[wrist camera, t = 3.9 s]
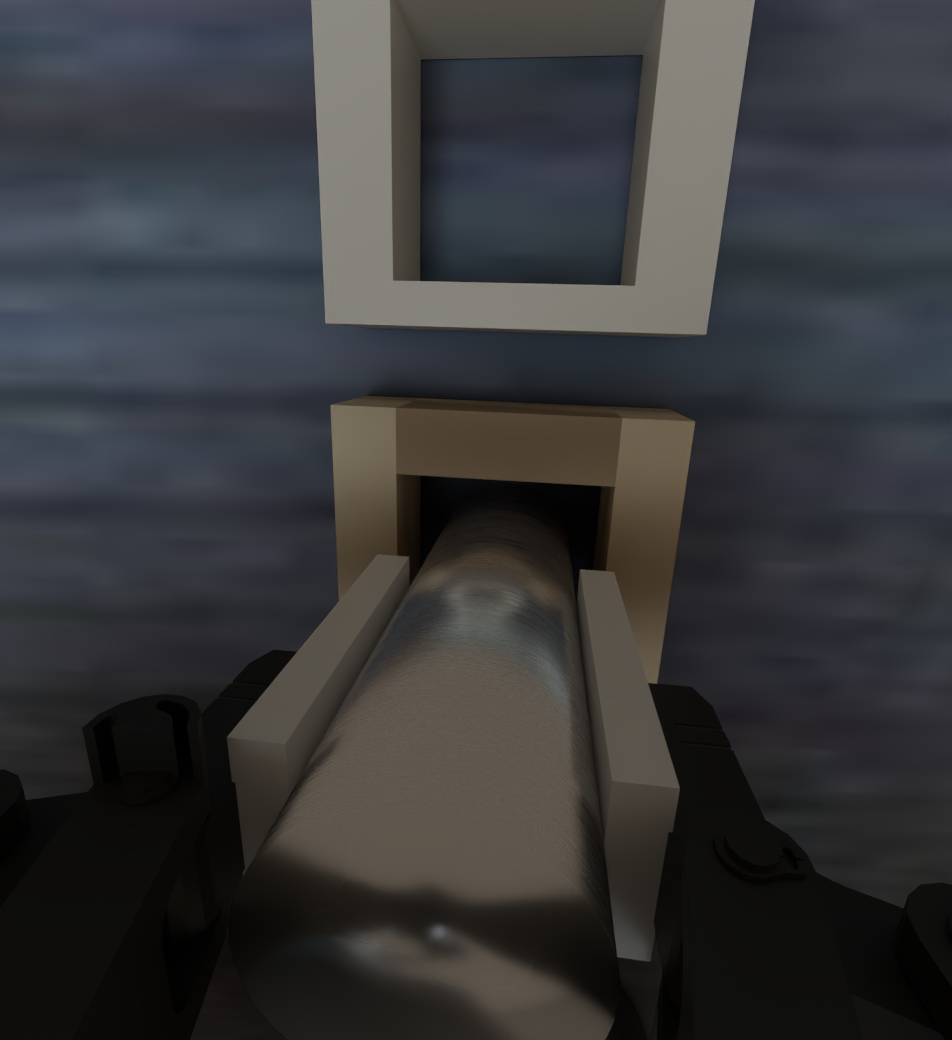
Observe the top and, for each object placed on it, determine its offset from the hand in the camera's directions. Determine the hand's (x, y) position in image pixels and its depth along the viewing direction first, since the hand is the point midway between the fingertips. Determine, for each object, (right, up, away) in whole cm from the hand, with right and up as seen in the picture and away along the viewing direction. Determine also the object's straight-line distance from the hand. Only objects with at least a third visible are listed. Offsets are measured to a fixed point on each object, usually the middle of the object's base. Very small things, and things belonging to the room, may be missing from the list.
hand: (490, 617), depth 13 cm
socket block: (+1, +1, +5) cm, 5 cm away
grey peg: (+1, +1, +5) cm, 5 cm away
